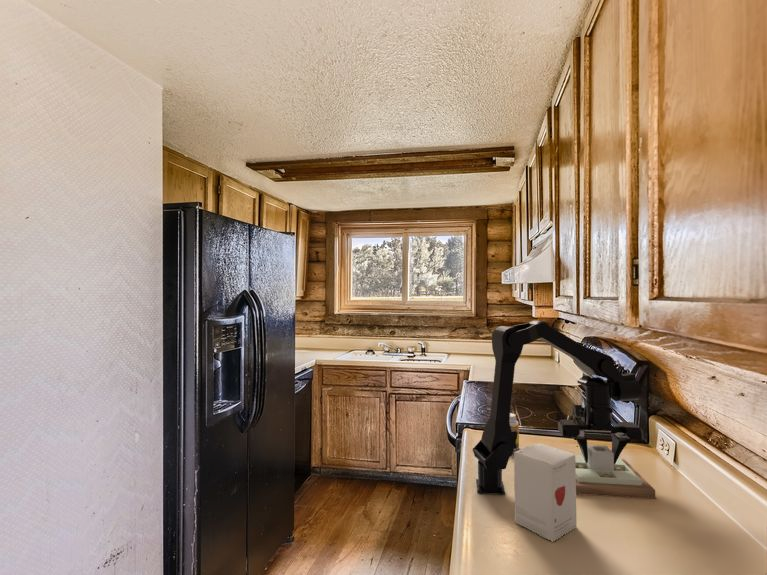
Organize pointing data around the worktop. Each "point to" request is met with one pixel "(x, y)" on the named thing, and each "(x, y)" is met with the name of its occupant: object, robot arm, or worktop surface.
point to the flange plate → (604, 468)
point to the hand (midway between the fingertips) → (599, 463)
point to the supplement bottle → (515, 427)
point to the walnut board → (616, 487)
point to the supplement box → (545, 490)
